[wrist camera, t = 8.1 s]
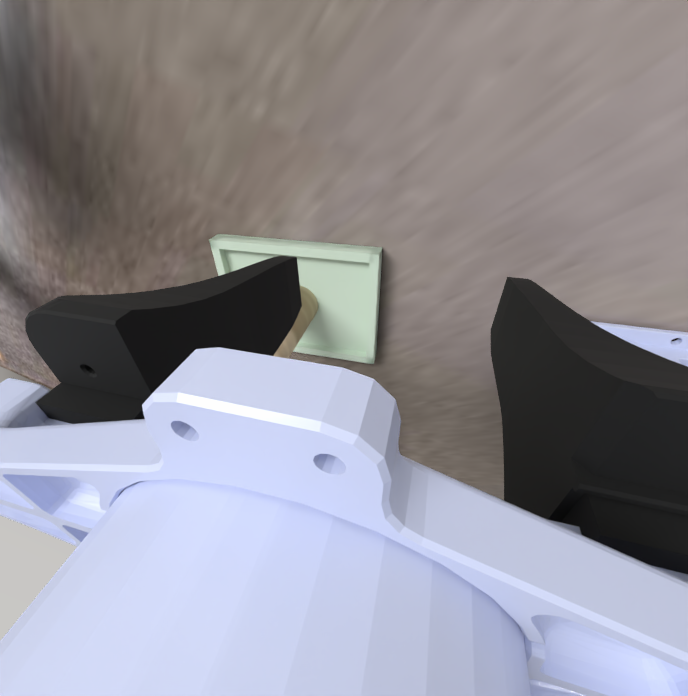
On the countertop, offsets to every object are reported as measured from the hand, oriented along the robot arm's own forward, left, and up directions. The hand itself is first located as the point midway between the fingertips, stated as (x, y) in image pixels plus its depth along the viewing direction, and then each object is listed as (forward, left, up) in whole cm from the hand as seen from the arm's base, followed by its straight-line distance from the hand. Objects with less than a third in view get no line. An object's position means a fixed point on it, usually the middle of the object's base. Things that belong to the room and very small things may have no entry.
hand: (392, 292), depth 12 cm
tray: (+8, +7, -10) cm, 15 cm away
